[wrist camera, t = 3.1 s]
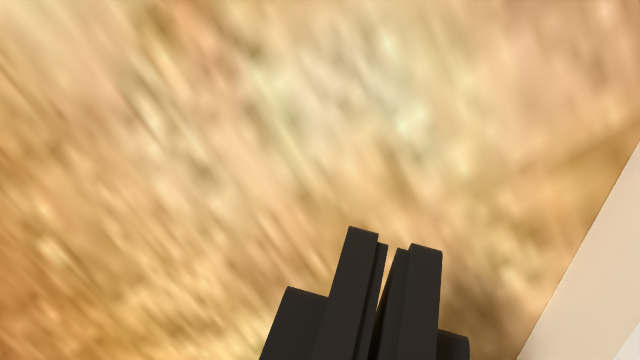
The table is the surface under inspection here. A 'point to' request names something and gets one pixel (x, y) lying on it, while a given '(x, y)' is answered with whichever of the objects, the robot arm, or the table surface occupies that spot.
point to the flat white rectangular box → (598, 286)
